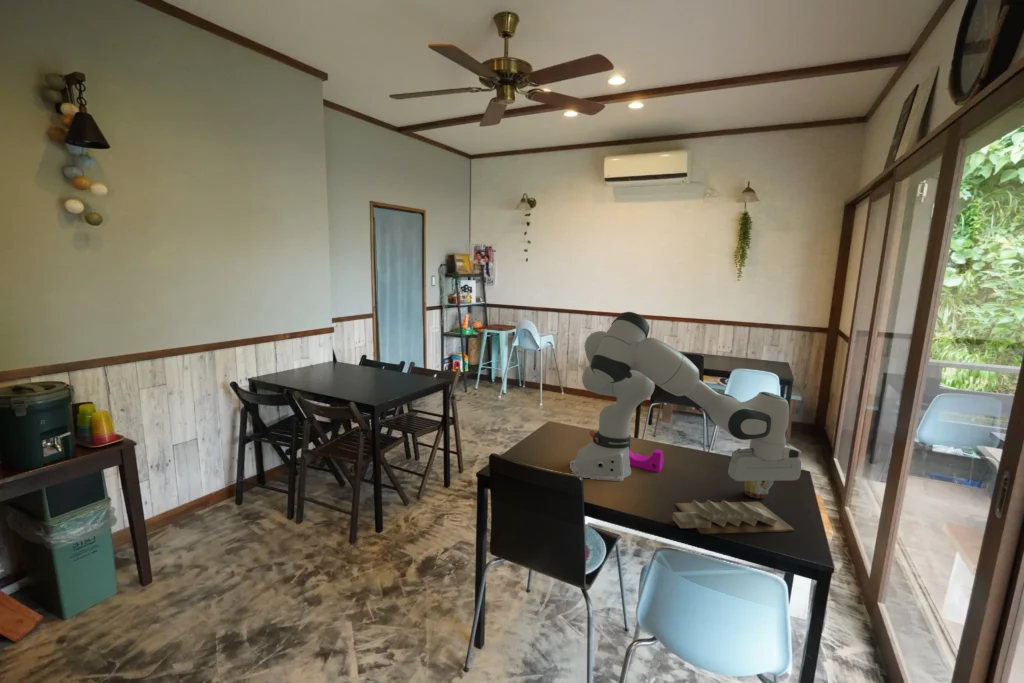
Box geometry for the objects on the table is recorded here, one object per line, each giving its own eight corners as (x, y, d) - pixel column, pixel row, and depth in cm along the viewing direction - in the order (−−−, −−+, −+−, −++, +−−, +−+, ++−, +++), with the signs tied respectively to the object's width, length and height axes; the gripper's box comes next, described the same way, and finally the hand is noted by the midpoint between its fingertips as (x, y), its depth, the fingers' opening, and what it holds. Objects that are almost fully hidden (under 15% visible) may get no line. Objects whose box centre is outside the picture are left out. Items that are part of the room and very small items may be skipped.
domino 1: (710, 527, 130) (680, 528, 129) (701, 518, 135) (672, 518, 134) (711, 520, 129) (681, 521, 129) (702, 511, 134) (673, 512, 133)
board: (700, 533, 127) (701, 531, 127) (675, 505, 143) (675, 503, 143) (794, 531, 130) (794, 529, 130) (758, 503, 146) (759, 501, 146)
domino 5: (774, 526, 131) (748, 516, 130) (762, 517, 136) (737, 507, 135) (777, 520, 131) (751, 509, 130) (765, 511, 136) (740, 501, 135)
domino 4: (754, 526, 131) (728, 514, 130) (743, 517, 136) (719, 505, 135) (757, 520, 131) (732, 508, 130) (747, 511, 136) (722, 499, 134)
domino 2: (723, 527, 130) (698, 514, 129) (714, 517, 135) (689, 505, 134) (727, 521, 130) (702, 508, 128) (717, 512, 135) (693, 499, 133)
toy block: (662, 467, 172) (664, 448, 171) (659, 473, 167) (660, 453, 166) (623, 458, 180) (625, 440, 179) (618, 463, 174) (620, 445, 173)
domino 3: (738, 526, 131) (713, 513, 129) (728, 517, 136) (703, 505, 134) (741, 520, 130) (716, 508, 129) (731, 511, 135) (707, 499, 134)
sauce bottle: (764, 501, 147) (771, 442, 144) (742, 496, 151) (749, 438, 148) (765, 493, 153) (772, 437, 150) (744, 488, 156) (750, 433, 153)
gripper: (739, 452, 127) (734, 499, 129) (807, 452, 129) (801, 498, 131) (726, 444, 133) (721, 488, 135) (791, 444, 135) (786, 487, 137)
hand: (761, 493), depth 133 cm, fingers closed
